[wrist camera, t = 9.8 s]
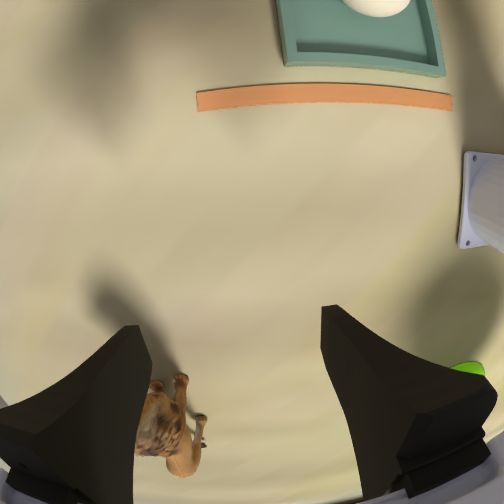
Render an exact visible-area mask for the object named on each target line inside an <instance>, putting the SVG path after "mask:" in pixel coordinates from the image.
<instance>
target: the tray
mask: <svg viewBox="0 0 504 504" xmlns="http://www.w3.org/2000/svg"><path fill="white" fill-rule="evenodd" d="M275 2H276V9H277V16H278V23H279V30H280V37H281V45H282V53H283V61H284V67H286V66H331V67H352V68H366V69H377V70H387V71H395V72H402V73H409V74H416V75H422V76H428V77H433V78H437V77H444V76H446V71H445V64H444V58H443V52H442V46H441V40H440V35H439V30H438V26H437V21H436V17H435V13H434V9H433V5H432V1H431V0H410V2H409V4H408V5H407V7H406V8H405V9H403V10H402V11H401V12H399V13H397V14H395V15H392V16H388V17H372V16H367V15H364V14H361V13H359V12H357V11H355V10H353V9H351V8H350V7H349V6H347V5H346V4H345V3H344V2H343V1H342V0H275Z"/></svg>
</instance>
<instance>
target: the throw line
mask: <svg viewBox="0 0 504 504" xmlns="http://www.w3.org/2000/svg"><path fill="white" fill-rule="evenodd" d="M196 95H197V104H198V112H201V111H208V110H215V109H223V108H231V107H241V106H251V105H263V104H278V103H299V102H361V103H382V104H396V105H407V106H417V107H426V108H434V109H441V110H448V111H452V100H451V96H450V95H445V94H439V93H433V92H426V91H420V90H412V89H404V88H395V87H384V86H372V85H355V84H281V85H264V86H251V87H240V88H230V89H222V90H214V91H207V92H200V93H196Z"/></svg>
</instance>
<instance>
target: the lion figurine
mask: <svg viewBox="0 0 504 504" xmlns="http://www.w3.org/2000/svg"><path fill="white" fill-rule="evenodd" d="M188 382H189V378H188V377H187V376H186V375H183V374H179V375H176V376H175V389H176V393H175V397H174V400H171V399H169V398H168V396H167V395H165V388H164V386H163V384H162V383H161V382H160V381H156V380H154V381H153V382H151V383H150V388H151V389H153V390H154V391H155V393H149V394H147V396H146V400H145V403H144V407H143V411H142V414H141V418H140V422H139V426H138V430H137V435H136V443H135V452H134V455H135V456H142V457H143V456H162V457H166V466H167V469H168V470H169V472H170V473H172V474H174V475H176V476H179V477H181V478H185V477H188V476H191V475H193V474H194V473H195V472H196V470H197V468H198V466H199V462H200V458H201V448H205V447H207V446H206V445H205V443H203V442H202V443H201V437H202V434H203V428H204V426H205V424H206V422H207V418H206V417H205V416H197V417H196V431H195V434H194V440H193V441H192V438H191V434H190V431H189V428H188V426H187V425H186V415H185V412H186V388H187V384H188Z"/></svg>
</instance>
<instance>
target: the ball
mask: <svg viewBox="0 0 504 504" xmlns="http://www.w3.org/2000/svg"><path fill="white" fill-rule="evenodd" d="M342 1H343V2H344V3H345V4H346V5H347V6H349V7H350V8H351V9H353V10H355V11H357V12H359V13H361V14H364V15H367V16H372V17H388V16H392V15H395V14H397V13H399V12H401V11H402V10H403V9H405V8H406V7H407V5H408V4H409V2H410V0H342Z"/></svg>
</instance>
